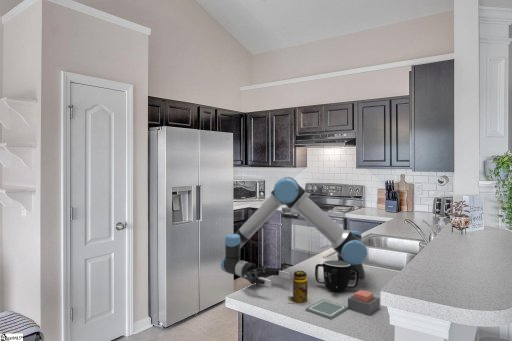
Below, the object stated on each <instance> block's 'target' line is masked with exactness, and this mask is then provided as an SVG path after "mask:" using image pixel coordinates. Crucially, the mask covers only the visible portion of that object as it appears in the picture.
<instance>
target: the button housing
mask: <svg viewBox="0 0 512 341" xmlns="http://www.w3.org/2000/svg"><path fill="white" fill-rule="evenodd" d="M380 300H381V299H380V297H378V296H377V297H376V296H374V295H373V300H371V301H370V302H368V303H367V302H363V301H360V300H356V299H354V295H351V296H349V297H348V298H347V307H348V310H352V311H354V312H356V313H360V314H364V315H367V316H371V315H372V314H373V313H375V312H376V311H378V310H379V309H380V308H381V306H380V305H381V303H380Z"/></svg>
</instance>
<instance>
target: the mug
mask: <svg viewBox="0 0 512 341" xmlns="http://www.w3.org/2000/svg"><path fill="white" fill-rule="evenodd" d="M350 266H351V265H350V264H348V263H347V262H344V261H338V259H337V260H336V259H334V260H333V259H331V260H330V259H327V260H324V261H323V263H316V265H315V266H314V268H315V269H314V277H315V280H316V281H317V283H319V284H322V285H325V289H327V290H328V291H331V292H337V293H342V292H346V291H347V289H350V288H351V289H355V288H356V287H357V286H358V284H359V281H360V280H359V271H358V270H357V269H355V268H350ZM319 267H321V268H322V269H323V270H322V271H323V272H322V273H323V280H322V279H320V277H319ZM350 270H351V271H355V280H354V283H353V284H349V281H350V280H349V277H350Z"/></svg>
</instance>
